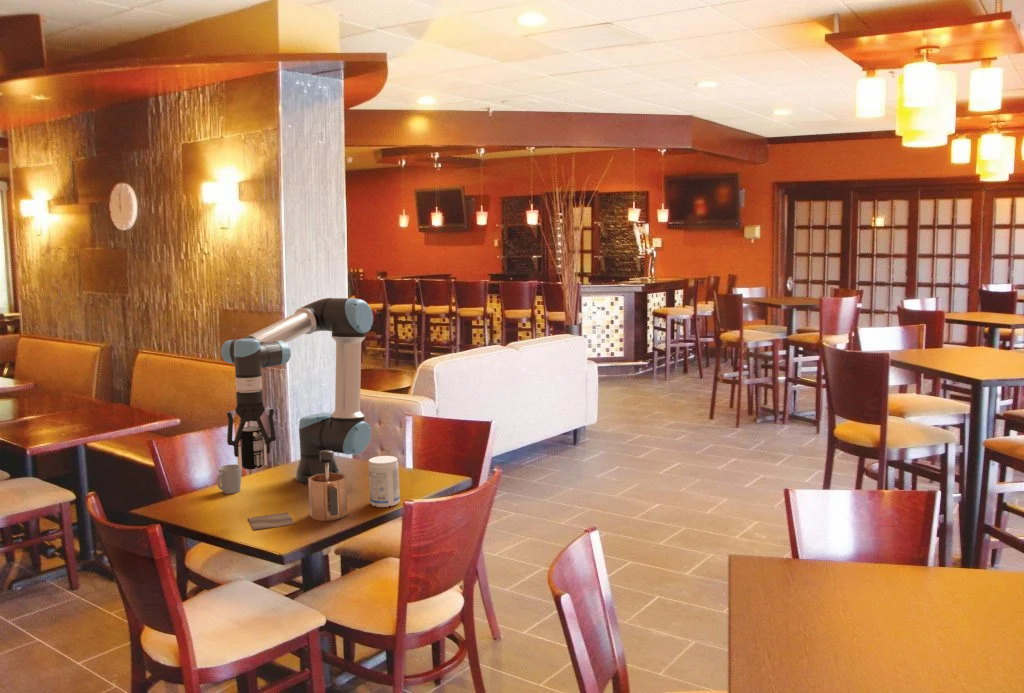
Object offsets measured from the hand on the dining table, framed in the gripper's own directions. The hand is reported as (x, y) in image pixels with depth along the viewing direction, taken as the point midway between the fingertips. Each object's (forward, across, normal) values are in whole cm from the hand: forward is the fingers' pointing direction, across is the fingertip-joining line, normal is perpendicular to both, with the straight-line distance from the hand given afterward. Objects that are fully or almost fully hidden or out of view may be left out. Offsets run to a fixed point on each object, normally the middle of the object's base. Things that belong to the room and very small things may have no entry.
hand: (252, 465), depth 255 cm
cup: (+17, -5, +34) cm, 38 cm away
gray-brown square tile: (+17, +4, -4) cm, 18 cm away
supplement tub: (+17, +40, -1) cm, 44 cm away
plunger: (+14, +21, -5) cm, 26 cm away
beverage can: (+1, 0, 0) cm, 1 cm away
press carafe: (+17, +21, -7) cm, 28 cm away
